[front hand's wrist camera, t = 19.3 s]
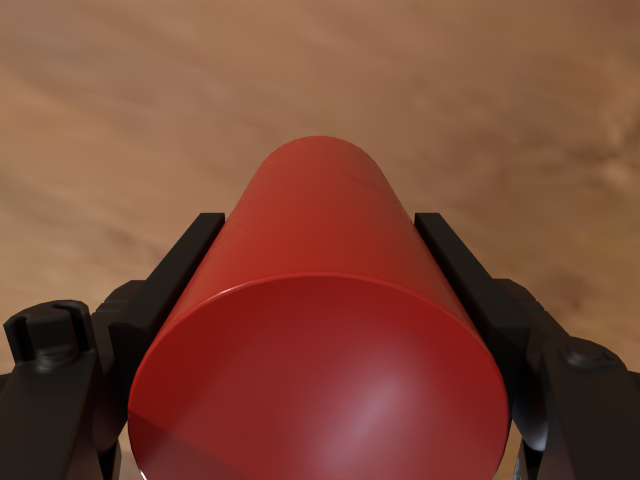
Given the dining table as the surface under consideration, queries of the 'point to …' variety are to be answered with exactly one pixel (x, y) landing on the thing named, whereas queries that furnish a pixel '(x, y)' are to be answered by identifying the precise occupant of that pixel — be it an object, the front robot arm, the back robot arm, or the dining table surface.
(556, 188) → the dining table surface
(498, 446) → the canister
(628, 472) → the front robot arm
